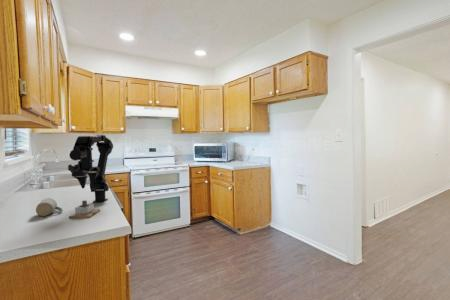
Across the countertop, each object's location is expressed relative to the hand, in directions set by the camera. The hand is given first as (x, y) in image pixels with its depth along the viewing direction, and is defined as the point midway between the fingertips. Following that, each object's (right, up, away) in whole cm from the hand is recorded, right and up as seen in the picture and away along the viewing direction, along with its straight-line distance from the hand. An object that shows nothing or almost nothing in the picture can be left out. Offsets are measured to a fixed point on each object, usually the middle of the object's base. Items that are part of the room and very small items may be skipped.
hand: (87, 186), depth 130 cm
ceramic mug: (-14, -13, -9) cm, 21 cm away
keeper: (+6, -12, -12) cm, 18 cm away
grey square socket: (+6, -11, -12) cm, 17 cm away
